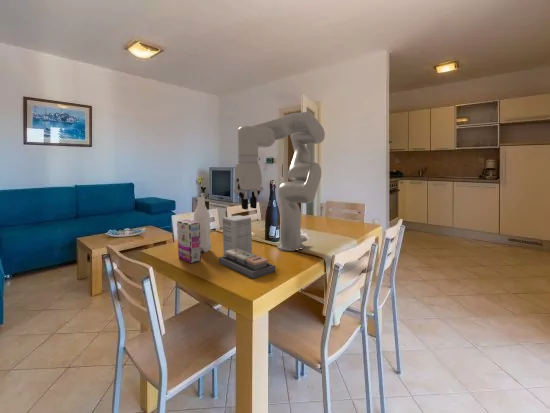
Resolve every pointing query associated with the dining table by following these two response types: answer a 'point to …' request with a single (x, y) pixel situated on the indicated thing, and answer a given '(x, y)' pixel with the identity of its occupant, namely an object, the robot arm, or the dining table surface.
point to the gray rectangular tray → (246, 268)
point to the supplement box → (237, 233)
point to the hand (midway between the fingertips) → (249, 208)
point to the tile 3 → (257, 262)
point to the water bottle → (203, 224)
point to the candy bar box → (189, 241)
